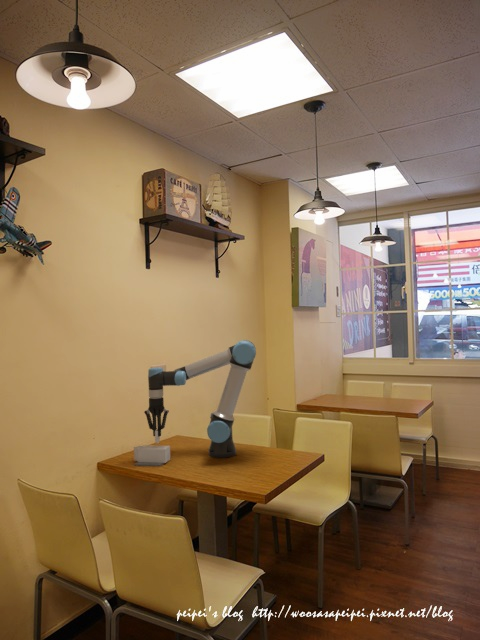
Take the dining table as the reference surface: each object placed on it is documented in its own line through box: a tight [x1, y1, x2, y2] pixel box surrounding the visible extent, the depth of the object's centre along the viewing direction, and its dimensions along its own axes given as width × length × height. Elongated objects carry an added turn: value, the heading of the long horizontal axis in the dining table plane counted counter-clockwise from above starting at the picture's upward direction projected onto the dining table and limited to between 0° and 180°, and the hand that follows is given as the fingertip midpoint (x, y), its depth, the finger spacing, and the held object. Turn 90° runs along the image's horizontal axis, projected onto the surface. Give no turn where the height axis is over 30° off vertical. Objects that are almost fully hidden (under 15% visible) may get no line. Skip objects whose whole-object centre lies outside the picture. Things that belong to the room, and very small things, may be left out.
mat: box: [134, 461, 165, 467], centre depth 241 cm, size 14×12×1 cm
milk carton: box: [133, 444, 171, 464], centre depth 242 cm, size 7×7×19 cm
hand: (157, 442), depth 241 cm, fingers closed
